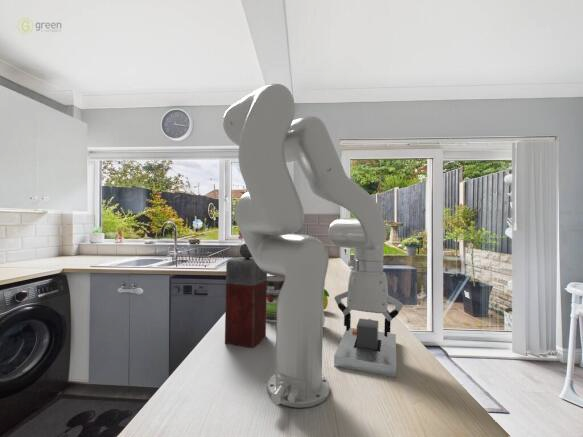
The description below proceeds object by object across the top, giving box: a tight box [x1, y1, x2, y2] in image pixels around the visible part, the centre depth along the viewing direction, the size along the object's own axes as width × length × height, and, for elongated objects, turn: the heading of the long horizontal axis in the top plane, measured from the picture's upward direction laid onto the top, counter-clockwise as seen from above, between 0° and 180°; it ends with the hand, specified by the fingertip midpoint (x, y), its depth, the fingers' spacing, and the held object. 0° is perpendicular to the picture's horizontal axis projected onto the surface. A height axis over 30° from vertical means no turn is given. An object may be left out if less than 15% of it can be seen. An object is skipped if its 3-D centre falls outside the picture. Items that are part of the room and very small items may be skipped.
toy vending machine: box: [224, 243, 268, 349], centre depth 84 cm, size 9×11×28 cm
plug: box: [356, 318, 379, 352], centre depth 76 cm, size 9×5×8 cm, turn 160°
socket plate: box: [333, 327, 397, 378], centre depth 75 cm, size 20×14×3 cm
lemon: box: [323, 288, 330, 310], centre depth 110 cm, size 7×6×10 cm
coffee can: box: [266, 275, 285, 323], centre depth 102 cm, size 10×10×14 cm
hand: (366, 331), depth 75 cm, fingers open, 9 cm apart
